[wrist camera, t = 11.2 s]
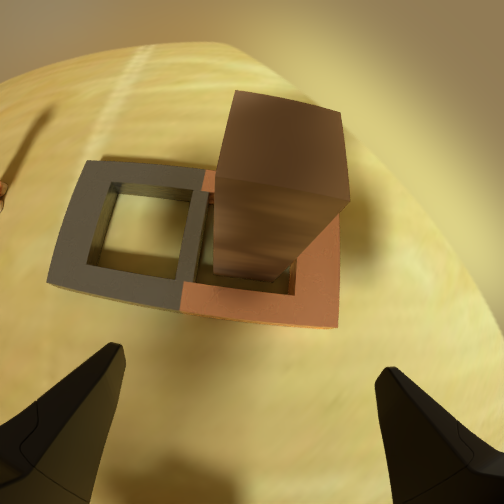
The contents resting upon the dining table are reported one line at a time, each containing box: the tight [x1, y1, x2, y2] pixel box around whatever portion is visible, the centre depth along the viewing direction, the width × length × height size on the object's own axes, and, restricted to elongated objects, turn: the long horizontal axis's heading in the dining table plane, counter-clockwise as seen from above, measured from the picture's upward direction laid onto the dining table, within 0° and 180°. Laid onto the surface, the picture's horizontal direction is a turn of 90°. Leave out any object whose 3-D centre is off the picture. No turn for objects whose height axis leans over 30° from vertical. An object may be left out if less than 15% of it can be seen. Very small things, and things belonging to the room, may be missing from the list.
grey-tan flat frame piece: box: [46, 160, 340, 329], centre depth 20 cm, size 22×11×2 cm, turn 84°
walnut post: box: [213, 90, 350, 283], centre depth 15 cm, size 4×4×13 cm
